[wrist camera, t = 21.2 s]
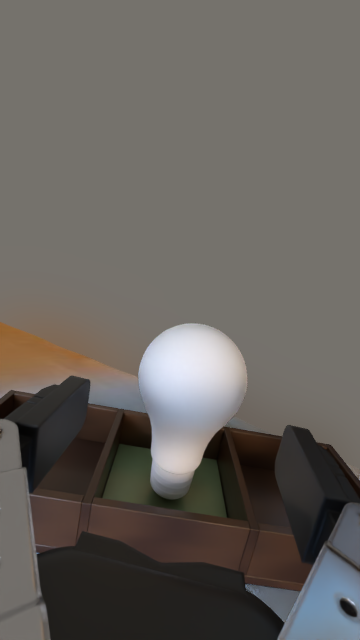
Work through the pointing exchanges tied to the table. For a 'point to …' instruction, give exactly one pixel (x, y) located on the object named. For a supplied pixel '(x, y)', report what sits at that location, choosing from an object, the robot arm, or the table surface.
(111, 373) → the table surface
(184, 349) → the lightbulb
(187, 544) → the compartment tray
